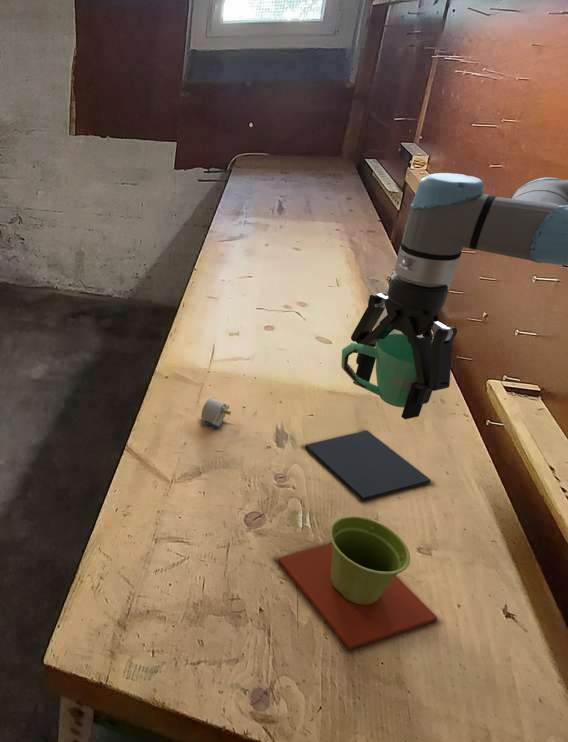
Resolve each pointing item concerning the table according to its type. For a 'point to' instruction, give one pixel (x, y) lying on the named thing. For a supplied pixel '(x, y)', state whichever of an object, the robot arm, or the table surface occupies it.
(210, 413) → the electric motor
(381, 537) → the plant pot
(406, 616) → the terracotta mat
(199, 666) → the table surface
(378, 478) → the charcoal mat
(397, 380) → the mug
